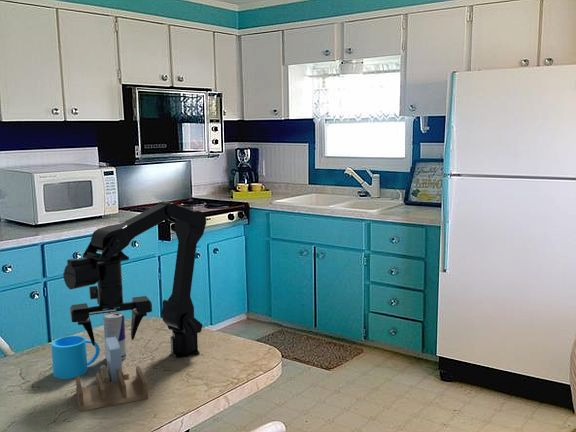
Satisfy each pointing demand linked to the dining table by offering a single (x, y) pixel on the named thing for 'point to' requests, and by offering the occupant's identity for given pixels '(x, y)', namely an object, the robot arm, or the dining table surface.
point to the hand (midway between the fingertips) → (113, 342)
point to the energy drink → (115, 330)
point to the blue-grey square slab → (113, 358)
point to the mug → (71, 356)
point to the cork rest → (106, 376)
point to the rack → (111, 391)
